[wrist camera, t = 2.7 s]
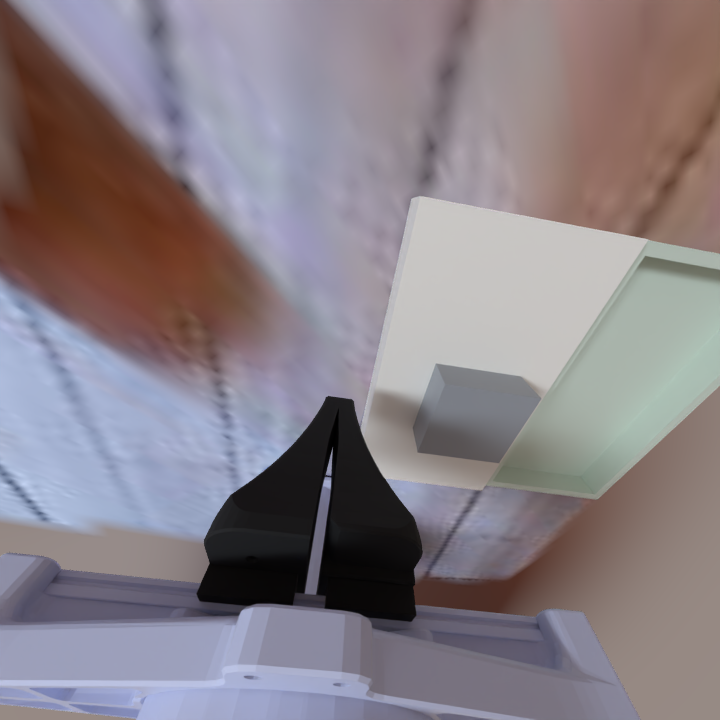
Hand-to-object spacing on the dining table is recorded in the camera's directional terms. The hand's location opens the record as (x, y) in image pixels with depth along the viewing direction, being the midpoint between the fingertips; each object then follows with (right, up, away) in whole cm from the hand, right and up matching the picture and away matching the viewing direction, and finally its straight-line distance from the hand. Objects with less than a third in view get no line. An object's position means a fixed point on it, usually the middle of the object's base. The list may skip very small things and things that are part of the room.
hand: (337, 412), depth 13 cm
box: (+17, +1, +5) cm, 18 cm away
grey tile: (+7, 0, +3) cm, 8 cm away
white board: (+7, +2, +4) cm, 9 cm away
